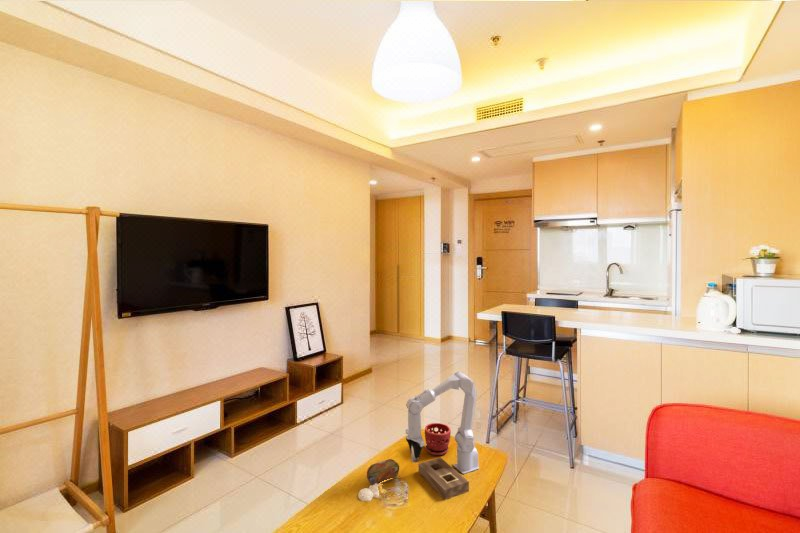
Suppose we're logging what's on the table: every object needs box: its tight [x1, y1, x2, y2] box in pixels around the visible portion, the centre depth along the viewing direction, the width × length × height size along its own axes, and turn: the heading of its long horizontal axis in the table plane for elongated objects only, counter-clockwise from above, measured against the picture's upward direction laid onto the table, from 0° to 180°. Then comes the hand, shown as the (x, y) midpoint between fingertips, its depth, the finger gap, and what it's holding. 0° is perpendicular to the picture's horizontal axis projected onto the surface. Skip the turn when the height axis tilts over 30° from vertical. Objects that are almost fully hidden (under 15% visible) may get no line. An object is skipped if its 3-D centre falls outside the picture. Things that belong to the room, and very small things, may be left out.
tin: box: [366, 458, 400, 486], centre depth 165 cm, size 15×3×8 cm, turn 116°
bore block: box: [418, 457, 470, 500], centre depth 164 cm, size 12×22×4 cm, turn 26°
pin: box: [411, 445, 420, 463], centre depth 168 cm, size 3×3×7 cm
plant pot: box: [424, 422, 451, 456], centre depth 189 cm, size 13×13×12 cm
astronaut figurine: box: [357, 483, 380, 502], centre depth 156 cm, size 9×12×3 cm
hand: (415, 455), depth 168 cm, fingers closed on pin, 3 cm apart
